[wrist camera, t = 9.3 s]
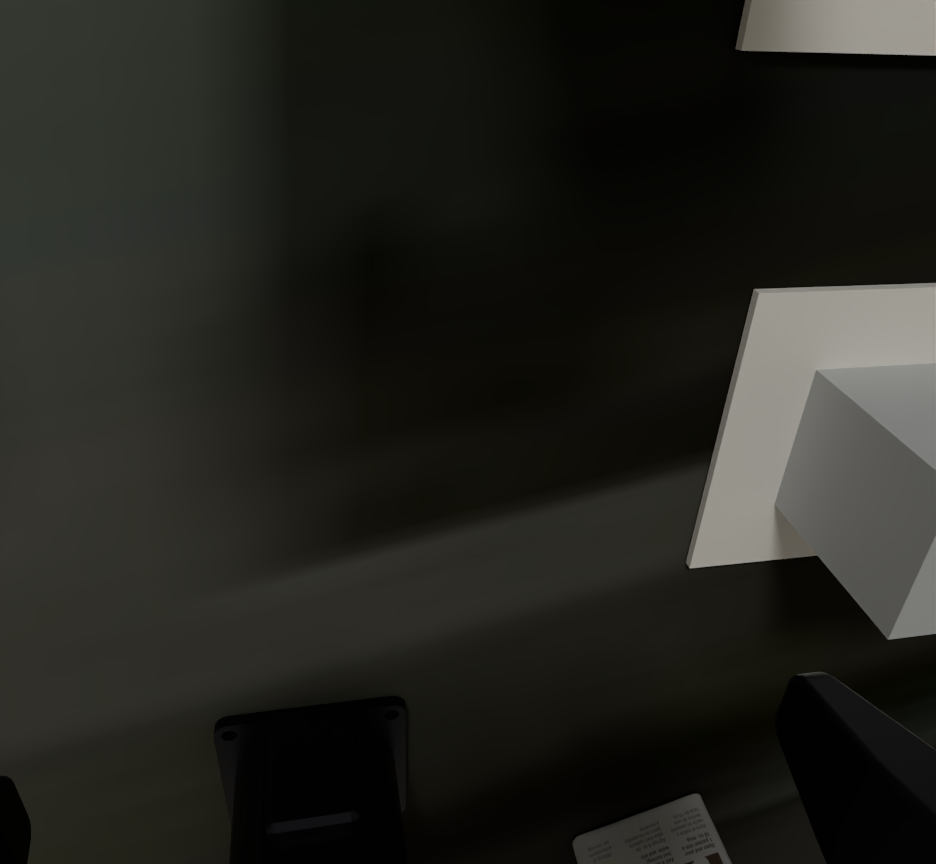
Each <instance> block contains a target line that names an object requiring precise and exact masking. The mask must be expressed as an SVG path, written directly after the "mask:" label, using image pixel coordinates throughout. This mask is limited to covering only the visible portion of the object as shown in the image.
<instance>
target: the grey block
mask: <svg viewBox="0 0 936 864" xmlns="http://www.w3.org/2000/svg"><path fill="white" fill-rule="evenodd" d="M775 505H776V507H777V508H778V509H779V510H780V511H781V513H782V514H783V515H784V516H785V517H786V519H787V520H788V521H789V522H790V523H791V525H792V526H793V527H794V528H795V529H796V530H797V532H798V533H799V534H800V535H801V536H802V538H803V539H804V540H805V541H806V542H807V544H808V545H809V546H810V547H811V548H812V550H813V551H814V552H815V553H816V554H817V556H818V557H819V558H820V559H821V560H822V561H823V563H824V564H825V565H826V566H827V567H828V569H829V570H830V571H831V572H832V573H833V575H834V576H835V577H836V578H837V579H838V581H839V582H840V583H841V584H842V585H843V587H844V588H845V589H846V590H847V591H848V592H849V594H850V595H851V596H852V597H853V598H854V600H855V601H856V602H857V603H858V604H859V606H860V607H861V608H862V609H863V610H864V612H865V613H866V614H867V615H868V616H869V617H870V619H871V620H872V621H873V622H874V623H875V625H876V626H877V627H878V628H879V629H880V631H881V632H882V633H883V634H884V635H885V637H886V638H887V639H896V638H904V637H912V636H920V635H928V634H936V363H930V364H912V365H893V366H875V367H857V368H839V369H820V370H816V372H815V375H814V378H813V381H812V385H811V388H810V391H809V394H808V398H807V401H806V404H805V407H804V410H803V414H802V417H801V420H800V423H799V427H798V430H797V433H796V436H795V439H794V443H793V446H792V449H791V452H790V456H789V459H788V462H787V465H786V468H785V472H784V475H783V478H782V481H781V485H780V488H779V491H778V494H777V497H776V501H775Z"/></svg>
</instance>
